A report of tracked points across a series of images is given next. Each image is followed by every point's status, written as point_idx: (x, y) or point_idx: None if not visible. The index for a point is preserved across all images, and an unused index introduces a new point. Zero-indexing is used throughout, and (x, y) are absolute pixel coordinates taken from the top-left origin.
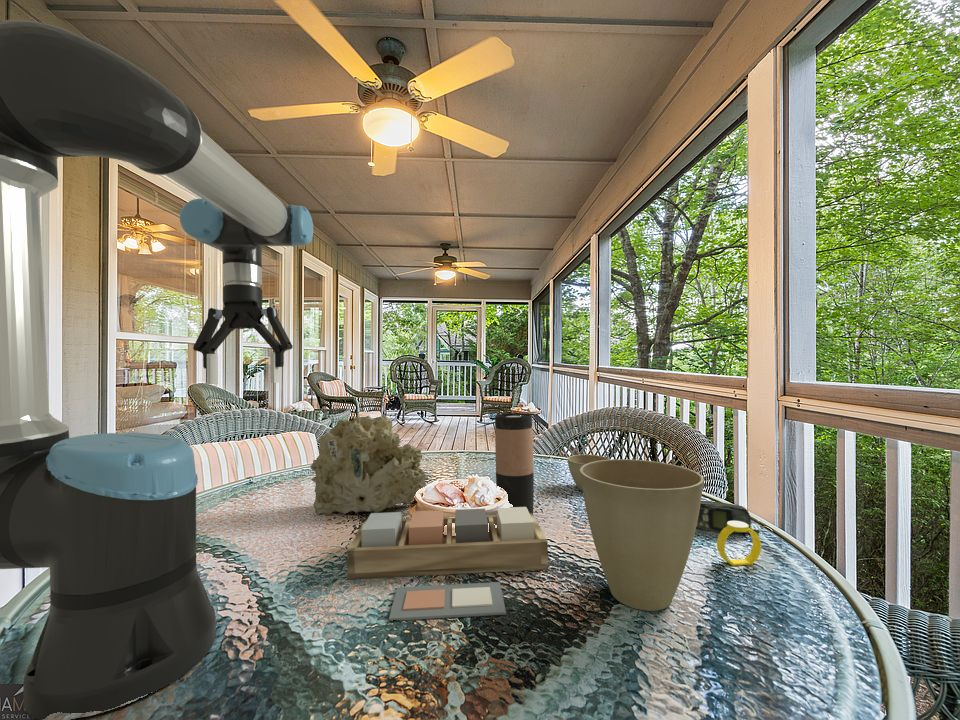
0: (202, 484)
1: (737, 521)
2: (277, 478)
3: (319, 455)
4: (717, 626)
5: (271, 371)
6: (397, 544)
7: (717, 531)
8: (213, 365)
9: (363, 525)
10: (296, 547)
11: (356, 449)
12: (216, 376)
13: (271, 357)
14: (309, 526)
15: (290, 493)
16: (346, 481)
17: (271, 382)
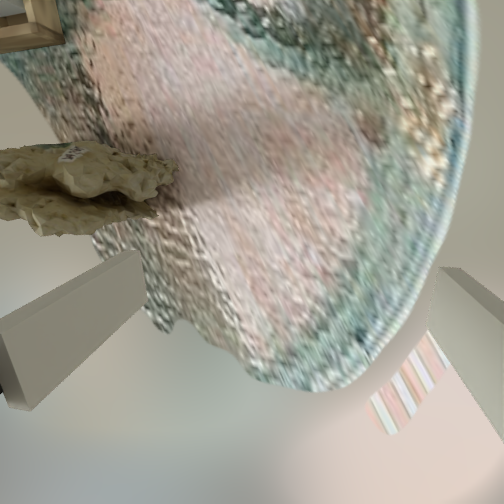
0: None
1: None
2: (322, 354)
3: (121, 174)
4: None
5: (101, 271)
6: (15, 20)
7: None
8: (493, 362)
9: (30, 6)
10: (144, 29)
11: (29, 146)
12: (444, 336)
13: (29, 309)
14: (164, 112)
15: (261, 268)
16: (90, 142)
17: (135, 250)
